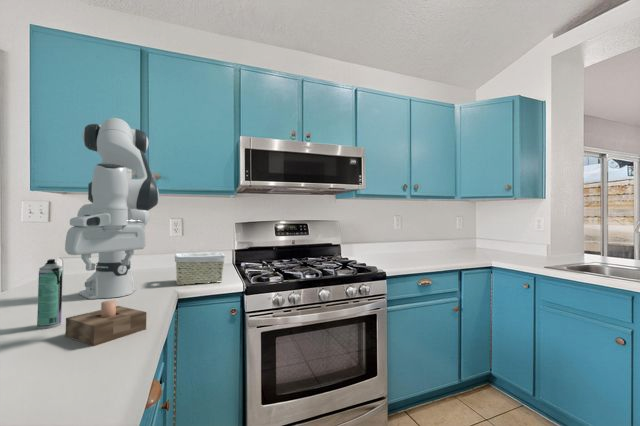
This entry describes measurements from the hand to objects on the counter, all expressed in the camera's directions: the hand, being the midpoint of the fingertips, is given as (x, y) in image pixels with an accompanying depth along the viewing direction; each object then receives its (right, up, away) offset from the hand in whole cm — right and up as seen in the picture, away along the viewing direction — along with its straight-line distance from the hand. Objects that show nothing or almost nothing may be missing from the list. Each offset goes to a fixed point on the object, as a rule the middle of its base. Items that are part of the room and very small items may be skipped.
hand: (108, 267), depth 90 cm
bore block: (0, -18, -1) cm, 18 cm away
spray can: (-21, -19, +5) cm, 28 cm away
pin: (0, -17, 0) cm, 17 cm away
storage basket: (-2, -20, +73) cm, 76 cm away
